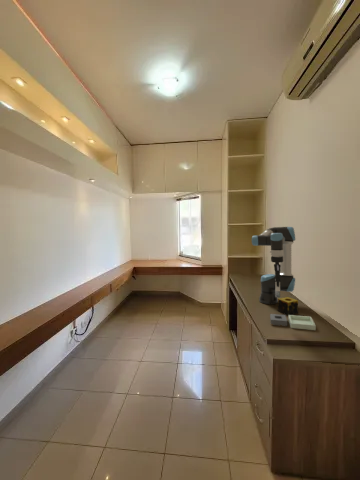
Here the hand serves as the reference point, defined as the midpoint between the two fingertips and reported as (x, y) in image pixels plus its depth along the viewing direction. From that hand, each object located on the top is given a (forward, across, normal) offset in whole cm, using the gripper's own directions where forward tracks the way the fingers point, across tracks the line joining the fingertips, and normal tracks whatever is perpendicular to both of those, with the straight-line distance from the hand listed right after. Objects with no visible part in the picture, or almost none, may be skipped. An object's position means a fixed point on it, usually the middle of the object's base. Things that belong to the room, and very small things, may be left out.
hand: (277, 290), depth 154 cm
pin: (+5, 0, 0) cm, 5 cm away
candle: (+23, -20, +8) cm, 31 cm away
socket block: (+22, 0, 0) cm, 22 cm away
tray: (+22, 0, +14) cm, 26 cm away
